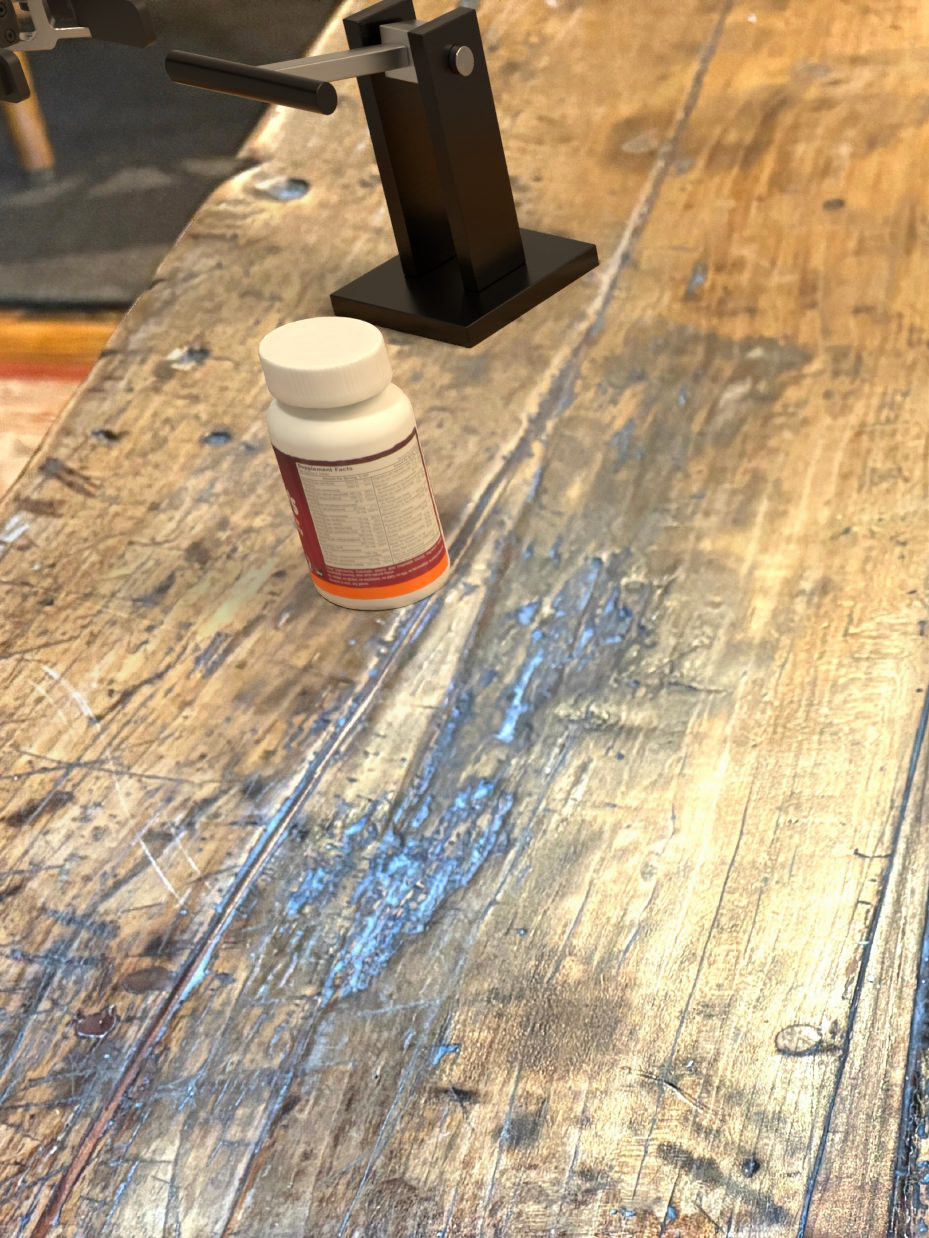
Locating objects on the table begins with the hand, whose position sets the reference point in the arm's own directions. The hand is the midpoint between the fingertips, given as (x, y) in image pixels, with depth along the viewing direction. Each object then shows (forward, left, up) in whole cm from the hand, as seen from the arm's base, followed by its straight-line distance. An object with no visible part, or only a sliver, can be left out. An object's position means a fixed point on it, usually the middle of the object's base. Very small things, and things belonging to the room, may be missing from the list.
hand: (85, 50), depth 108 cm
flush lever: (+12, +2, -2) cm, 12 cm away
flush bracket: (+14, +7, -15) cm, 21 cm away
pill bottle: (+17, -24, -15) cm, 33 cm away
